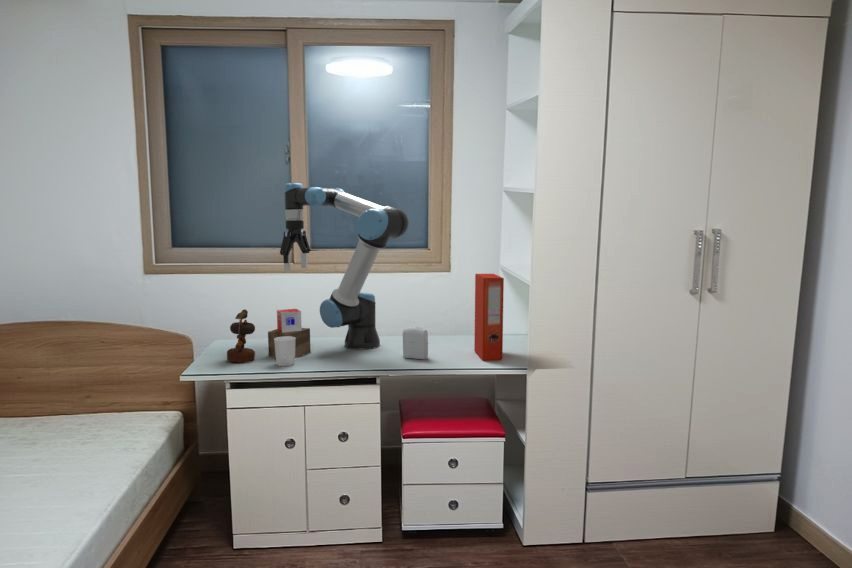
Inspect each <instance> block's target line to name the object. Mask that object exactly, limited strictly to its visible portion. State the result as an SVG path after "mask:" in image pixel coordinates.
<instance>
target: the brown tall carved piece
mask: <svg viewBox="0 0 852 568" xmlns="http://www.w3.org/2000/svg"><path fill="white" fill-rule="evenodd" d="M248 314H249V312H248V310H247V309H246V308H245V309H242V310H241V311H240V312H238V313H237V315H236V316H235V318H234V319H235V320H239V321H237V322H232V323H231V325H230V326H229V330H230V332H231V333H232V334H233V335H236V339H238V340H237V343H236V344H235V346H234V347H232V348H229V349H228V350H227V351H226V360H227V361H228V362H233V363H251V362H254V361H255V360H256V359H255V358H256V351H255V350H254V349H252V348H249V347H245V345H246V343H247V340H246V336H247V335H253V333H255V331H256V325H255V324H254V323H252V322H248V320H247V318H248ZM243 320H244V321H243Z"/></svg>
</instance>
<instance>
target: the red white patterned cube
mask: <svg viewBox="0 0 852 568" xmlns="http://www.w3.org/2000/svg"><path fill="white" fill-rule="evenodd" d="M276 323H277V324H276V325H277V326H276V329H278V330H279V331H281V332H294V331H302V328H303V327H302V311H301V310H299V309H297V308H287V309H276Z"/></svg>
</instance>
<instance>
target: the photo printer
mask: <svg viewBox="0 0 852 568" xmlns="http://www.w3.org/2000/svg"><path fill="white" fill-rule="evenodd" d="M402 356H403V358H404V359H416V360H427V359H428V358H429V335H428V330H427V329H426V328H423V327H419V326H409V327H405V328H404V329H403V330H402Z"/></svg>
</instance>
